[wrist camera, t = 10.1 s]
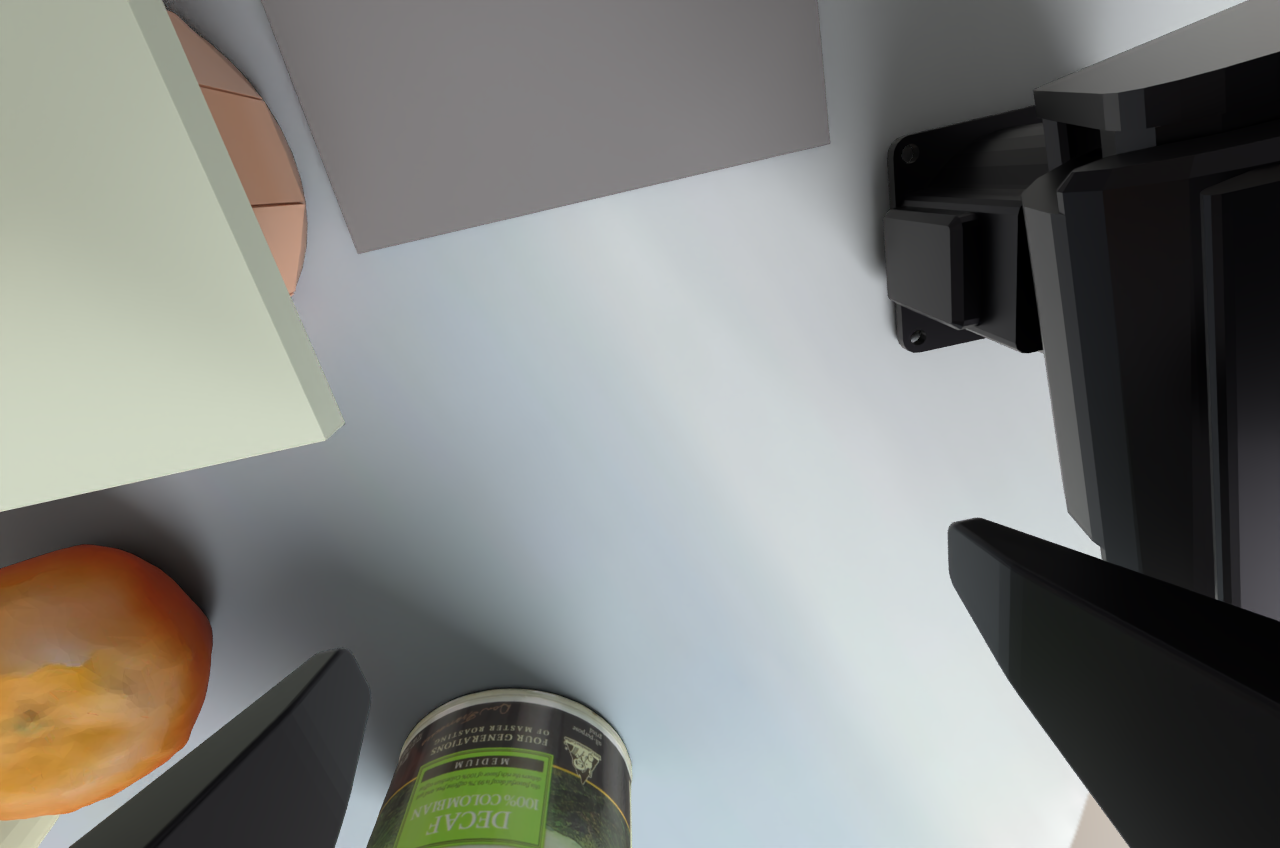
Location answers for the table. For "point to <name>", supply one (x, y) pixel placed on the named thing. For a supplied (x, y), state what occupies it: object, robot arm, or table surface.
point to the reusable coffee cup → (25, 831)
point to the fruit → (93, 676)
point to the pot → (253, 151)
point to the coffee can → (509, 777)
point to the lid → (131, 267)
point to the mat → (541, 100)
